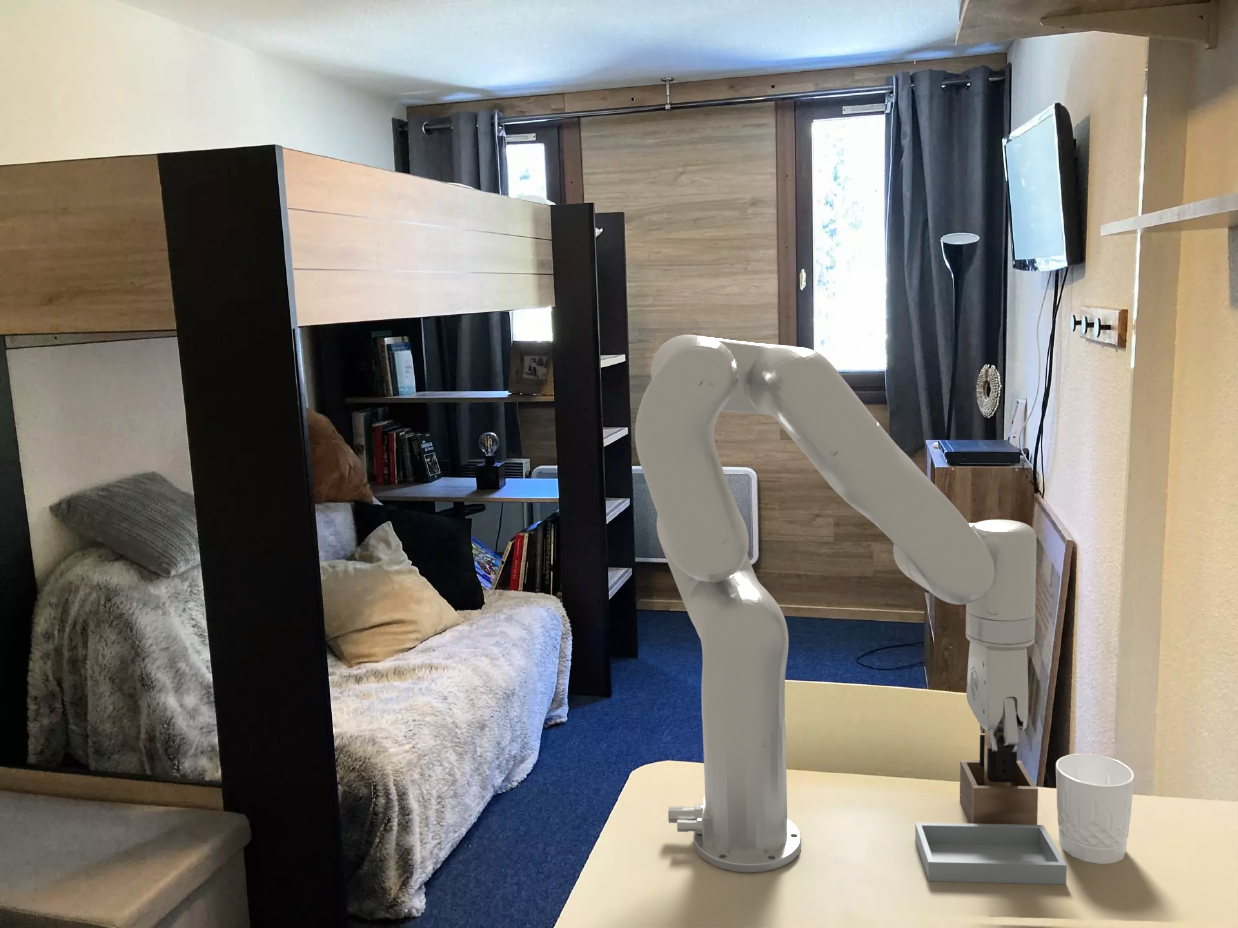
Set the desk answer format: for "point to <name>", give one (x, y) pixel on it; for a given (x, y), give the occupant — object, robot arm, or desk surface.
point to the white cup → (1093, 806)
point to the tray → (989, 853)
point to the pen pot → (997, 797)
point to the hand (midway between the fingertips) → (997, 772)
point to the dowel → (987, 745)
